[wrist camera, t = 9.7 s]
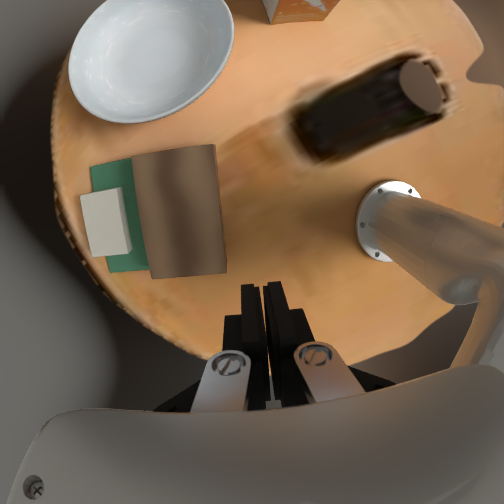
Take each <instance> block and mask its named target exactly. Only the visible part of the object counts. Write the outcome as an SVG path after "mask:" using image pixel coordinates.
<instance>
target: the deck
mask: <svg viewBox="0 0 504 504" xmlns="http://www.w3.org/2000/svg"><path fill="white" fill-rule="evenodd" d="M131 158H132V167H133V175H134V183H135V190H136V197H137V204H138V210H139V217H140V222H141V228H142V234H143V239H144V244H145V249H146V254H147V259H148V264H149V268H150V273H151V277H152V279H162V278H175V277H187V276H199V275H210V274H222V273H227V256H226V247H225V239H224V229H223V220H222V211H221V201H220V191H219V181H218V170H217V159H216V148H215V145H214V144H209V145H201V146H193V147H186V148H179V149H172V150H166V151H160V152H154V153H148V154H143V155H137V156H132V157H131Z"/></svg>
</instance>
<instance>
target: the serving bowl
mask: <svg viewBox="0 0 504 504" xmlns="http://www.w3.org/2000/svg"><path fill="white" fill-rule="evenodd" d="M233 41H234V22H233V18H232V14H231V12H230V9H229V7H228V6H227V4H226V3H225V1H224V0H107V1H106V2H104V3H103V4H102V5H101V6H100V7H99V8H97V9H96V10H95V12H93V13H92V15H91V16H90V17H89V18H88V19H87V21H86V22H85V23H84V25H83V26H82V28H81V29H80V31H79V33H78V34H77V37H76V39H75V41H74V43H73V46H72V49H71V53H70V57H69V64H68V74H69V81H70V85H71V88H72V91H73V93H74V95H75V97H76V99H77V100H78V101H79V103H80V104H81V105H82V106H83V107H84V108H85V109H86V110H87V111H88V112H90V113H91V114H93V115H95V116H96V117H98V118H101V119H103V120H106V121H110V122H115V123H123V124H134V123H143V122H149V121H154V120H157V119H161V118H164V117H166V116H169V115H171V114H174V113H176V112H178V111H180V110H182V109H183V108H185V107H187V106H188V105H190V104H191V103H193V102H194V101H195V100H197V99H198V98H199V97H200V96H201V95H203V94H204V93H205V92H206V91H207V90H208V89H209V88H210V87H211V85H212V84H213V83H214V82H215V81H216V79H217V78H218V77H219V75H220V74H221V72H222V70H223V69H224V67H225V65H226V63H227V60H228V58H229V56H230V53H231V50H232V46H233Z"/></svg>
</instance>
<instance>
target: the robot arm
mask: <svg viewBox="0 0 504 504" xmlns="http://www.w3.org/2000/svg"><path fill="white" fill-rule="evenodd" d="M377 191H378V192H377ZM361 222H362V224H361ZM360 224H361V225H360ZM355 227H356V235H357V238H358V241H359V243H360V245H361V247H362V248H363V250H364V251H365V252H366V253H367V254H368V255H370V256H371V257H372V258H374V259H376V260H379V261H382V262H392V261H394V262H395V263H397V264H398V265H399V266H401V267H402V268H403V269H404V270H406V271H407V272H408V273H409V274H411V275H412V276H413V277H414V278H416V279H417V280H418V281H419V282H421V283H422V284H423V285H424V286H425V287H427V288H428V289H429V290H430V291H432V292H433V293H434V294H435V295H437V296H438V297H439V298H440V299H442V300H443V301H445V302H447V303H450V304H454V305H464V304H469V303H474V302H477V301H478V307H477V310H476V312H475V315H474V318H473V320H472V324H471V326H470V328H469V331H468V333H467V335H466V337H465V339H464V341H463V343H462V345H461V347H460V349H459V351H458V353H457V355H456V357H455V359H454V361H453V362H452V364H451V366H450V368H449V369H446V370H443V371H440V372H437V373H433V374H430V375H427V376H424V377H420V378H417V379H414V380H411V381H407V382H402V383H401V384H397V385H396V384H395V383H393V382H391V381H389V380H386V379H383V378H380V377H377V376H375V375H372V374H369V373H366V372H363V371H360V370H358V369H355V368H352V367H350V366H347V365H346V364H345V362H344V361H343V359H342V358H341V357H340V355H339V354H338V352H337V351H336V350H335V349H334V348H333V347H332V346H331V345H329V344H327V343H324V342H316V341H315V340H314V337H313V334H312V332H311V329H310V326H309V324H308V321H307V319H306V316H305V313H304V311H303V309H302V308H300V309H291V310H289V307H288V304H287V300H286V297H285V294H284V291H283V288H282V284H281V281H276V282H268V286H263V295H264V309H265V324H266V331H265V324H264V317H263V310H262V304H261V297H260V290H259V287H254V284H244V285H241V312H242V314H240V315H227V316H225V320H224V334H223V348H222V352H219V353H217V354H215V355H213V356H212V357H211V358H210V359H209V361H208V362H207V365H206V368H205V371H204V373H203V376H202V379H201V380H199V381H198V382H196V383H195V384H193V385H191V386H190V387H188V388H187V389H185V390H184V391H182V392H180V393H179V394H178V395H176V396H174V397H173V398H171V399H169V400H168V401H166V402H164V403H163V404H161V405H159V406H158V407H157V408H156V409H154V410H153V412H150V411H146V410H144V411H133V410H132V411H131V410H118V409H98V408H92V409H78V410H73V411H67V412H64V413H60V414H57V415H55V416H53V417H52V418H50V419H49V420H48V421H47V422H46V423H45V424H44V425H43V426H42V428H41V429H40V431H39V432H38V434H37V435H36V437H35V438H34V440H33V442H32V444H31V445H30V447H29V449H28V451H27V453H26V455H25V457H24V460H23V462H22V464H21V466H20V468H19V471H18V473H17V476H16V478H15V481H14V483H13V486H12V489H11V492H10V495H9V498H8V501H7V504H504V228H501V227H498V226H496V225H493V224H490V223H487V222H485V221H482V220H479V219H477V218H474V217H472V216H469V215H466V214H464V213H461V212H459V211H456V210H453V209H451V208H448V207H445V206H442V205H439V204H436V203H434V202H431V201H428V200H425V199H422V198H421V197H420V195H419V194H418V192H417V191H416V190H415V189H414V188H413V187H412V186H410V185H409V184H407V183H404V182H402V181H397V180H388V181H384V182H381V183H379V184H377V185H376V186H374V187H373V188H372V189H370V190H369V192H368V193H367V194H366V195H365V196H364V198H363V200H362V201H361V203H360V205H359V208H358V211H357V215H356V224H355ZM267 347H268V349H267ZM268 354H269V361H270V368H271V375H272V382H273V389H274V396H275V400H281V406H282V408H274V409H266V403H265V401H270V400H271V396H270V380H269V364H268Z"/></svg>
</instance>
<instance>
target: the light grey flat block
mask: <svg viewBox="0 0 504 504" xmlns="http://www.w3.org/2000/svg"><path fill="white" fill-rule="evenodd" d="M80 200H81V206H82V212H83V217H84V222H85V227H86V232H87V237H88V241H89V246H90V250H91V254H92V257H100V256H110V255H120V254H128V253H129V252H130V251H131V250H132V249H133V248H132V243H131V238H130V232H129V227H128V221H127V216H126V210H125V203H124V197H123V190H122V187H116V188H111V189H106V190H100V191H95V192H91V193H86V194H83V195H80Z"/></svg>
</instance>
